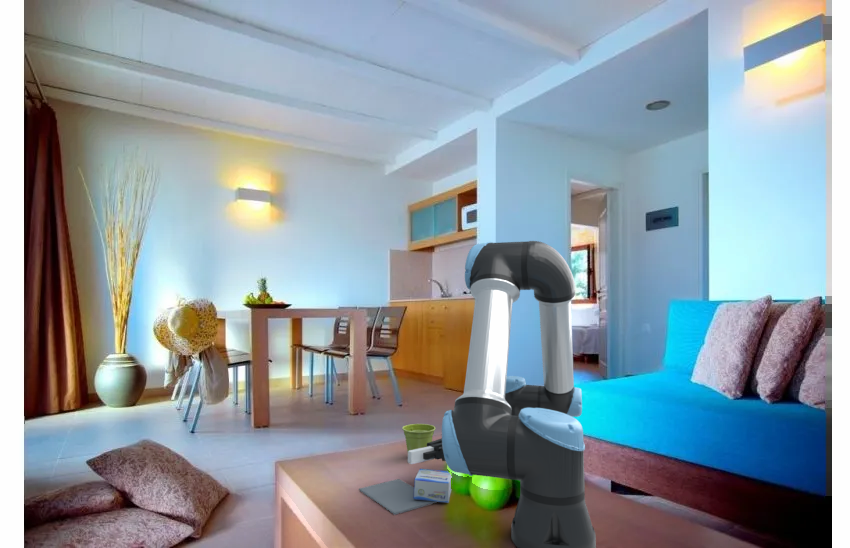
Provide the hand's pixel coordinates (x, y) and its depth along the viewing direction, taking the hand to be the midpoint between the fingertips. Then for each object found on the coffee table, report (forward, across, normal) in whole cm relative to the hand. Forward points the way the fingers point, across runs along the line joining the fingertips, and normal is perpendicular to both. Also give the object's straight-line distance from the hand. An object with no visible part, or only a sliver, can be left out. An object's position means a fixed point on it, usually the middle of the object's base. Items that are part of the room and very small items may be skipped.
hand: (409, 457), depth 113 cm
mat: (+4, 0, -8) cm, 9 cm away
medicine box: (-6, -2, -6) cm, 9 cm away
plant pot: (-15, +19, -8) cm, 26 cm away
